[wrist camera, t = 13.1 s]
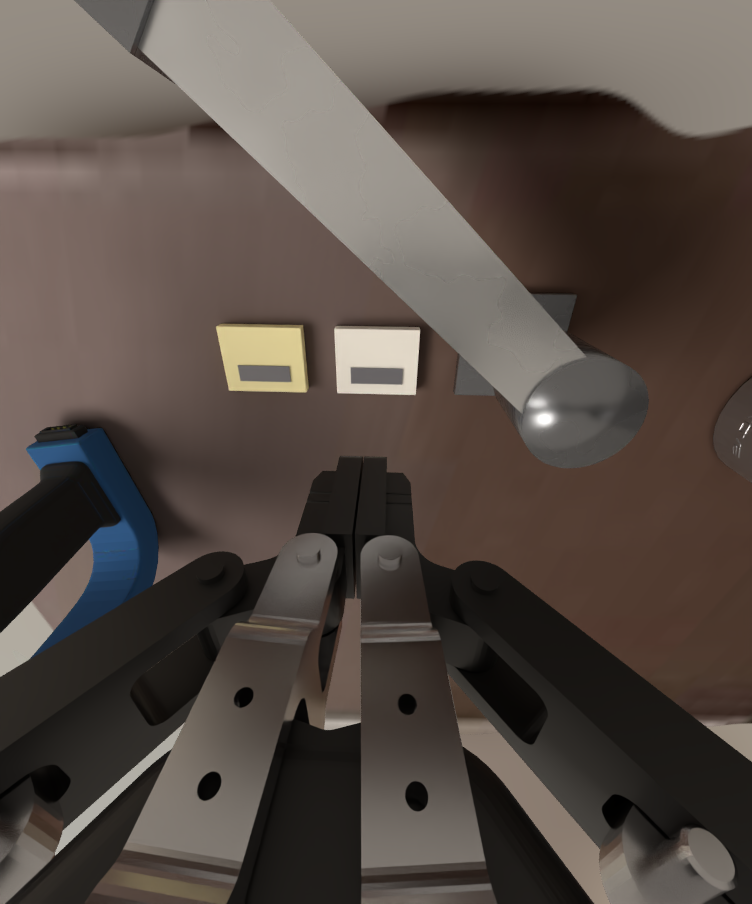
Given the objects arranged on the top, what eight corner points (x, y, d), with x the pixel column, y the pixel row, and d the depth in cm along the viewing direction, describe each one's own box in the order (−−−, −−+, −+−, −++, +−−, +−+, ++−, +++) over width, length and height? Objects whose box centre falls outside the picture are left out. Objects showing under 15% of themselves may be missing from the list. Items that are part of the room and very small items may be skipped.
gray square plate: (572, 293, 21) (619, 309, 16) (546, 393, 24) (580, 428, 20) (465, 291, 21) (484, 307, 17) (453, 391, 24) (466, 425, 20)
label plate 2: (419, 327, 22) (420, 330, 21) (414, 390, 24) (415, 395, 23) (336, 325, 22) (334, 329, 21) (338, 388, 24) (337, 393, 23)
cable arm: (606, 371, 18) (672, 413, 13) (530, 432, 19) (568, 486, 15) (211, -79, 11) (102, -265, 7) (151, 76, 13) (38, 3, 9)
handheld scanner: (88, 392, 25) (-553, 725, 8) (183, 559, 33) (-41, 898, 16) (29, 399, 25) (-688, 725, 9) (137, 562, 34) (-126, 892, 17)
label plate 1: (303, 325, 22) (299, 328, 21) (308, 387, 24) (306, 392, 23) (221, 323, 22) (215, 326, 22) (233, 386, 24) (228, 391, 24)
